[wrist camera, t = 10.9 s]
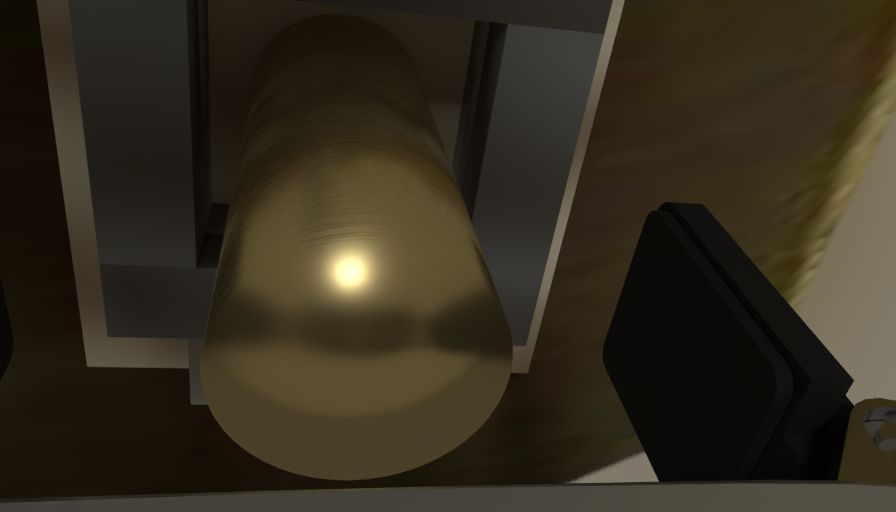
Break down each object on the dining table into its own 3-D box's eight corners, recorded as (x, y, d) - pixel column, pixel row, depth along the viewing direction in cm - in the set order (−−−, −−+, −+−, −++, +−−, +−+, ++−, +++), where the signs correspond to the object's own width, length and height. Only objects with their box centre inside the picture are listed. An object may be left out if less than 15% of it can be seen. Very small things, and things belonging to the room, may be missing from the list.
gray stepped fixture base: (8, -404, 14) (-109, -469, 10) (667, -273, 16) (772, -287, 12) (100, 333, 22) (56, 445, 19) (517, 343, 25) (552, 443, 21)
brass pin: (253, 4, 17) (195, 231, 8) (431, 23, 17) (541, 248, 9) (251, 168, 19) (203, 483, 10) (410, 178, 19) (485, 477, 11)
